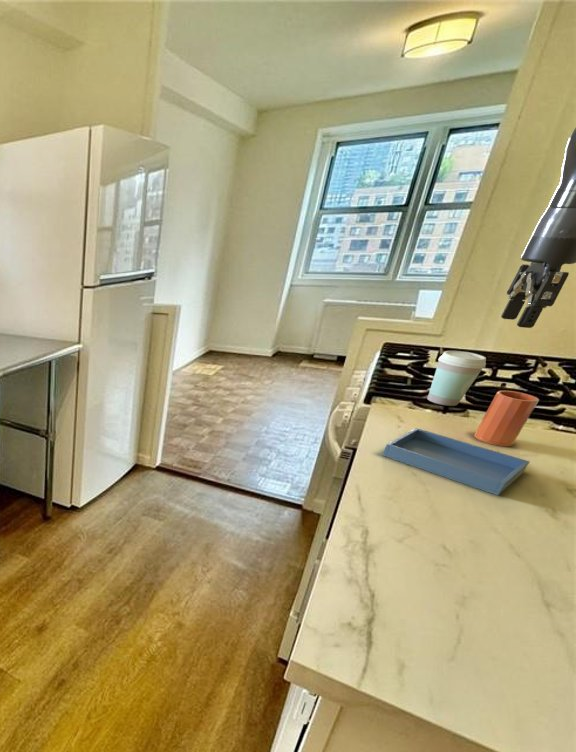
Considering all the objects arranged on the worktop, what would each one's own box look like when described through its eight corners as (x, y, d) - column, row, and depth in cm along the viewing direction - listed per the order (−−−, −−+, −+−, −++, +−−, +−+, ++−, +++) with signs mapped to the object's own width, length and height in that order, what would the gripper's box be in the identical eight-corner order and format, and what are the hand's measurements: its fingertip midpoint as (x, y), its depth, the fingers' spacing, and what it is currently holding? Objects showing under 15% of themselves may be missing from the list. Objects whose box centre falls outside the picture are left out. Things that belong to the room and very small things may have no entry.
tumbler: (516, 441, 101) (542, 397, 97) (507, 448, 98) (534, 403, 94) (479, 431, 106) (502, 388, 101) (469, 438, 103) (493, 394, 98)
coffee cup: (459, 410, 116) (484, 362, 110) (415, 400, 122) (436, 353, 116) (469, 403, 120) (493, 356, 115) (426, 392, 126) (447, 348, 121)
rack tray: (522, 473, 90) (530, 461, 89) (497, 495, 83) (505, 483, 82) (411, 438, 103) (416, 427, 101) (381, 455, 96) (386, 444, 95)
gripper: (611, 238, 82) (557, 332, 90) (571, 233, 93) (526, 318, 101) (550, 236, 85) (503, 328, 93) (519, 232, 96) (479, 314, 104)
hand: (515, 322), depth 97 cm, fingers open, 8 cm apart
